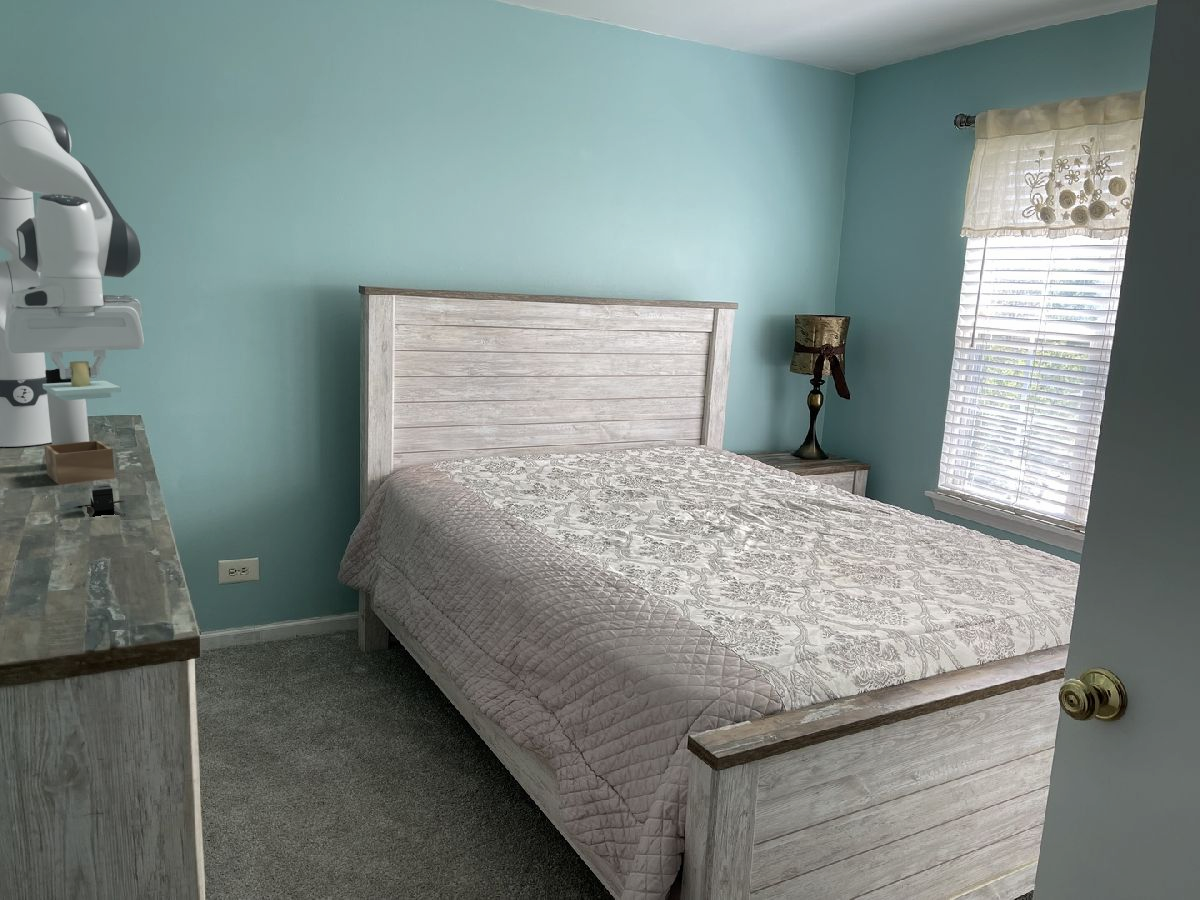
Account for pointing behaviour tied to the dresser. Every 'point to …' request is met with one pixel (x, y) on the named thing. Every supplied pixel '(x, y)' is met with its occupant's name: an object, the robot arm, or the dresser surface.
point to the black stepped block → (102, 501)
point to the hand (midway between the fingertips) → (80, 378)
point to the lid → (81, 385)
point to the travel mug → (66, 415)
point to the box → (79, 462)
